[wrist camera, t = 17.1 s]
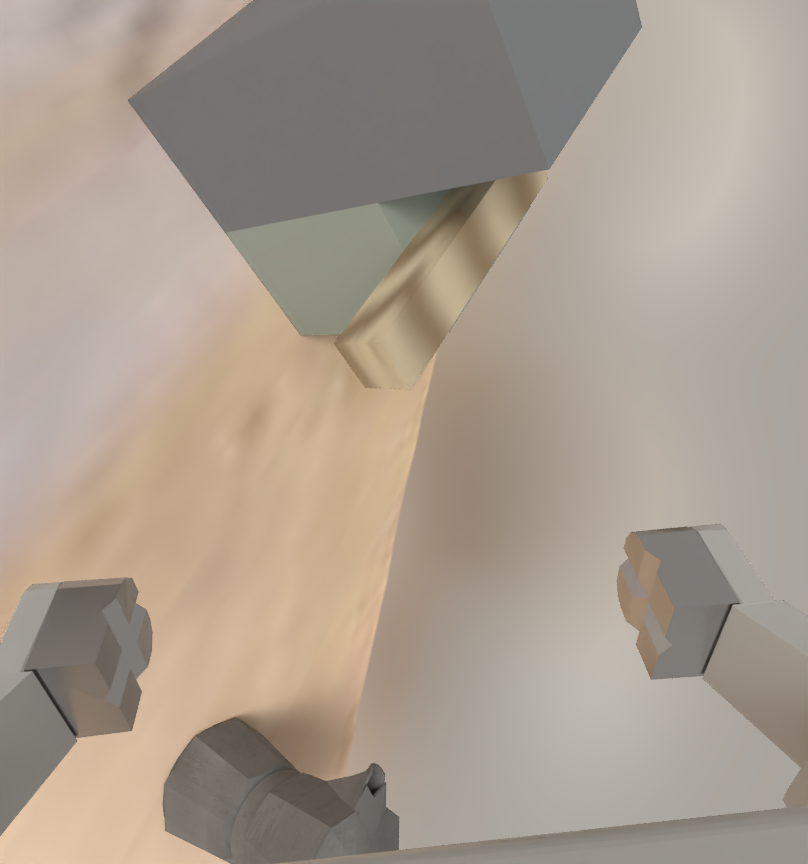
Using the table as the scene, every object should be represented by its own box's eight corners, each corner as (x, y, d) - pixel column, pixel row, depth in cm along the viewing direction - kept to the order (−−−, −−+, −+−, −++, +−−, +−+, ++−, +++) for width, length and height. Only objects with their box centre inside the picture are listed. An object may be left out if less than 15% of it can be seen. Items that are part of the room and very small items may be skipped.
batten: (365, 387, 39) (410, 389, 37) (333, 343, 37) (380, 342, 35) (504, 186, 48) (547, 178, 46) (485, 141, 46) (530, 130, 44)
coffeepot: (191, 688, 49) (368, 793, 38) (285, 692, 56) (459, 783, 44) (118, 916, 46) (285, 1107, 34) (226, 891, 53) (396, 1044, 41)
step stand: (301, 335, 54) (606, 329, 37) (127, 100, 42) (463, -67, 25) (385, 229, 61) (678, 182, 44) (255, -2, 49) (591, -189, 32)
